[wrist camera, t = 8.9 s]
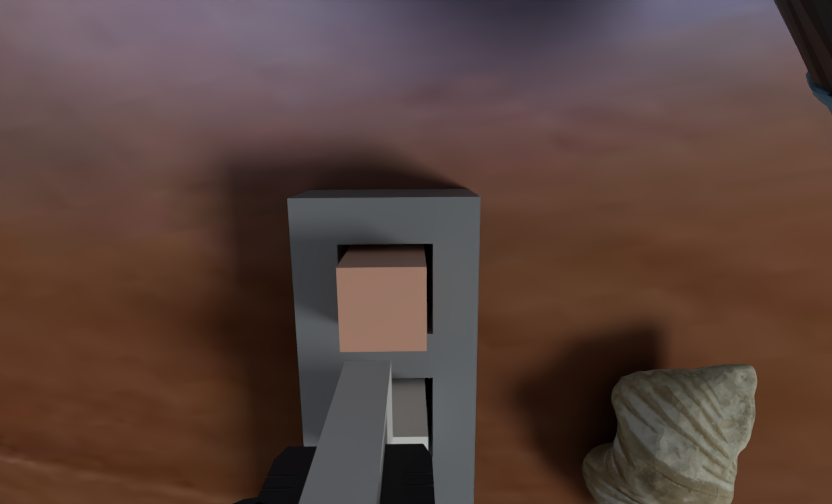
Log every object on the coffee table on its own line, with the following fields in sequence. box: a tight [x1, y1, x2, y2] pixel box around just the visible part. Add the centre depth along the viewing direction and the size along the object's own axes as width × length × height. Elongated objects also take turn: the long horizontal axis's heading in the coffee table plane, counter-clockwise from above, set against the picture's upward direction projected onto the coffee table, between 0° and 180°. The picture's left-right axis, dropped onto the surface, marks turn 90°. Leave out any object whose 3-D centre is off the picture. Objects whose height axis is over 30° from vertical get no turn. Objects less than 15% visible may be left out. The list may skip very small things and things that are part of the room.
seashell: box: [582, 364, 757, 504], centre depth 33 cm, size 14×9×10 cm
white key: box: [391, 378, 428, 450], centre depth 27 cm, size 5×5×7 cm
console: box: [287, 189, 480, 504], centre depth 32 cm, size 28×11×6 cm, turn 0°
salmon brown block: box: [336, 244, 427, 352], centre depth 27 cm, size 5×5×7 cm
